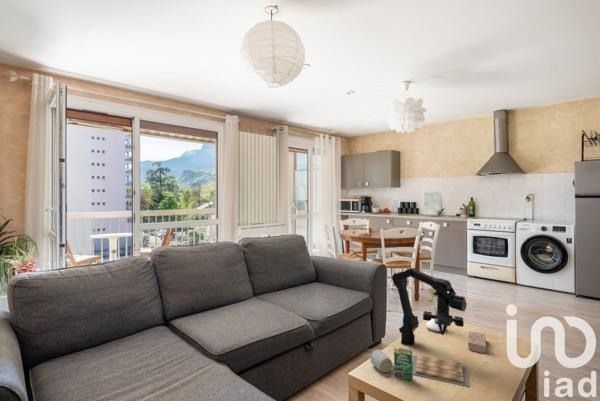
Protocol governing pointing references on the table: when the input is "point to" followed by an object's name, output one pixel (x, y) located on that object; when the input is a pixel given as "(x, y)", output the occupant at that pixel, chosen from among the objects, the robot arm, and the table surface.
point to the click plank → (439, 363)
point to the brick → (477, 342)
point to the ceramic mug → (381, 361)
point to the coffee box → (403, 363)
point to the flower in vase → (431, 323)
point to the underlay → (442, 379)
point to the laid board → (440, 373)
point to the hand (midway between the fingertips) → (442, 334)
